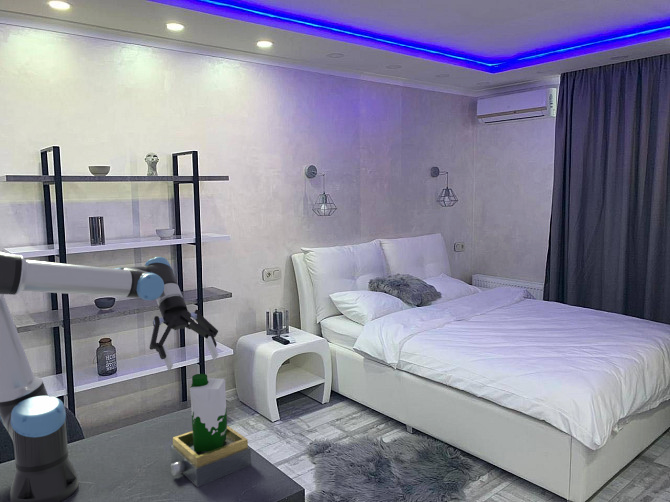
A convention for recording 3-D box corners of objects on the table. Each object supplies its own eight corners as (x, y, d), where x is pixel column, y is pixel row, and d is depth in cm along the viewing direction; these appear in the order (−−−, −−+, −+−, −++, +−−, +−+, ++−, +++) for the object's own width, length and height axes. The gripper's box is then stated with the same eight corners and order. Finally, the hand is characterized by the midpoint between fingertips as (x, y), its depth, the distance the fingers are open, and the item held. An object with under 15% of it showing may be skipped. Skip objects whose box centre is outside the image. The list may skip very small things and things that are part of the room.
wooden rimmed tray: (185, 491, 132) (184, 463, 131) (160, 466, 144) (159, 441, 143) (251, 465, 144) (250, 439, 143) (223, 444, 156) (221, 420, 155)
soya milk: (199, 437, 149) (195, 370, 147) (230, 437, 149) (227, 370, 146) (189, 453, 140) (186, 382, 138) (223, 453, 140) (220, 381, 138)
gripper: (205, 303, 168) (229, 359, 158) (126, 315, 152) (147, 379, 142) (212, 289, 163) (237, 346, 153) (131, 300, 147) (153, 365, 138)
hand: (193, 362), depth 148 cm, fingers open, 13 cm apart
